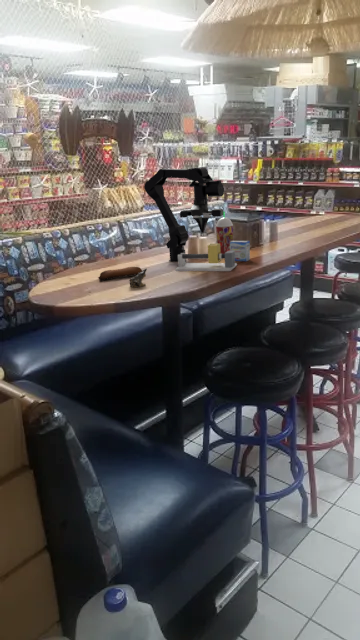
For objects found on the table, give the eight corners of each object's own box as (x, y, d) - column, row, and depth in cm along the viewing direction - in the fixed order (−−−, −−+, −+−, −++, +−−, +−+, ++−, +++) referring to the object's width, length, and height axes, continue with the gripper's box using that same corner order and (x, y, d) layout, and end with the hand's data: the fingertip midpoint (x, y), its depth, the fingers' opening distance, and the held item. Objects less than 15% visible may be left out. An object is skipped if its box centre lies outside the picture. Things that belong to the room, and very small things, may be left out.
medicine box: (230, 261, 231) (229, 241, 229) (233, 259, 235) (233, 240, 232) (246, 261, 228) (246, 242, 225) (250, 259, 231) (249, 240, 229)
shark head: (144, 286, 201) (142, 268, 201) (153, 285, 196) (151, 267, 196) (126, 288, 197) (124, 270, 196) (136, 288, 192) (134, 269, 191)
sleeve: (208, 263, 217) (207, 245, 215) (211, 260, 222) (211, 243, 219) (217, 263, 216) (216, 245, 214) (220, 260, 220) (220, 243, 218)
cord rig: (175, 270, 220) (174, 254, 218) (184, 264, 230) (183, 249, 228) (230, 271, 211) (229, 254, 209) (237, 265, 222) (236, 249, 220)
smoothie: (234, 254, 245) (233, 211, 239) (217, 255, 246) (215, 213, 239) (233, 251, 253) (232, 210, 247) (216, 252, 253) (214, 211, 247)
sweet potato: (137, 271, 222) (138, 260, 217) (142, 282, 217) (143, 271, 213) (96, 277, 217) (96, 265, 212) (100, 289, 212) (100, 277, 207)
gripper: (174, 199, 221) (176, 236, 226) (216, 198, 215) (217, 235, 220) (182, 197, 231) (185, 232, 236) (223, 195, 225) (224, 231, 230)
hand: (202, 232), depth 230 cm, fingers closed
